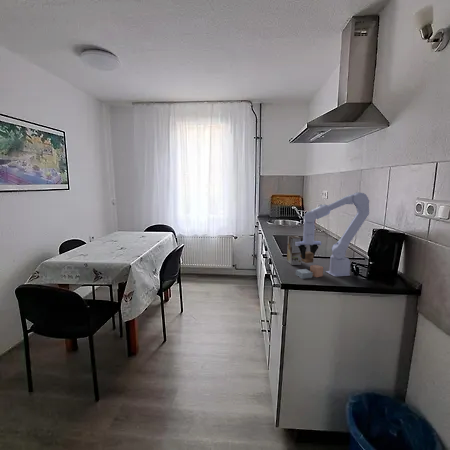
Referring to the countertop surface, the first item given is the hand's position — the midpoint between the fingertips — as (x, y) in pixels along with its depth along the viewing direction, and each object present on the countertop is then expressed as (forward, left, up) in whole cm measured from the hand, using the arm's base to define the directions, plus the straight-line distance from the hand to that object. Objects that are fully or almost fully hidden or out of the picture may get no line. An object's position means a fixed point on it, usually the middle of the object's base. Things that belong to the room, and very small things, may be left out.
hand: (307, 258), depth 145 cm
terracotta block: (-1, +8, -7) cm, 11 cm away
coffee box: (0, -15, -7) cm, 17 cm away
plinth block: (+6, +8, -7) cm, 12 cm away
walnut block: (0, 0, -2) cm, 2 cm away
